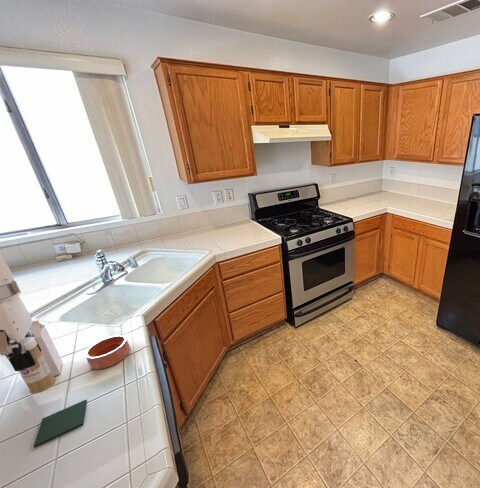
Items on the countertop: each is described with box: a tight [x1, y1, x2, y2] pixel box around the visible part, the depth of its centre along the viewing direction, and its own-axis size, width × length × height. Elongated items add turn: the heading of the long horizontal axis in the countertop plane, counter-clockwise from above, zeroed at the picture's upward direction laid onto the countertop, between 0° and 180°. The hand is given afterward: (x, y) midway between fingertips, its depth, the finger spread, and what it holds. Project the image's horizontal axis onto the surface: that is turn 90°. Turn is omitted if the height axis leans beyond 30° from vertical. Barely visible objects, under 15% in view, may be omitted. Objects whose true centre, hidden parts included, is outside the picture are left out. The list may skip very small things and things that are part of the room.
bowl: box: [84, 334, 131, 370], centre depth 90 cm, size 11×11×5 cm
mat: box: [33, 399, 88, 449], centre depth 69 cm, size 9×9×1 cm
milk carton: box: [10, 319, 63, 377], centre depth 82 cm, size 7×7×19 cm
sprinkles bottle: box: [11, 337, 57, 395], centre depth 62 cm, size 5×5×14 cm
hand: (29, 360), depth 62 cm, fingers closed on sprinkles bottle, 4 cm apart
